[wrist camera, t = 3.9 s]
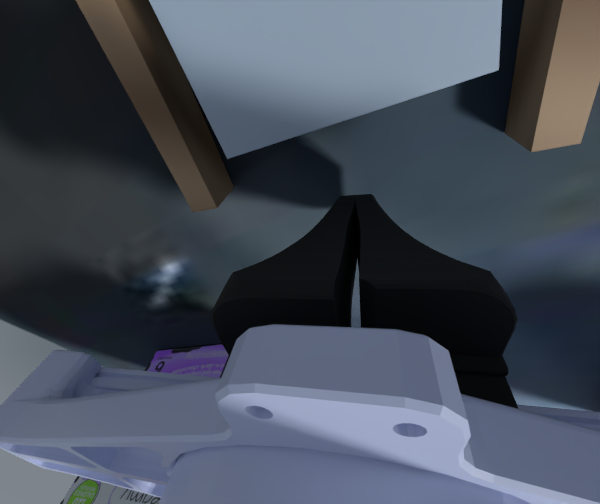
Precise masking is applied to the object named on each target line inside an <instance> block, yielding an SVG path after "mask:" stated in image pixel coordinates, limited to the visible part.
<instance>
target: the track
mask: <svg viewBox="0 0 600 504" xmlns="http://www.w3.org/2000/svg"><path fill="white" fill-rule="evenodd" d="M76 2H77V4H78V6H79V7H80V9H81V11H82V13H83V15H84V16H85V18H86V20H87V22H88V24H89V25H90V27H91V29H92V31H93V33H94V34H95V36H96V38H97V40H98V42H99V43H100V45H101V47H102V49H103V51H104V52H105V54H106V56H107V58H108V60H109V61H110V63H111V65H112V67H113V69H114V71H115V72H116V74H117V76H118V78H119V80H120V81H121V83H122V85H123V87H124V89H125V90H126V92H127V94H128V96H129V98H130V99H131V101H132V103H133V105H134V107H135V108H136V110H137V112H138V114H139V116H140V117H141V119H142V121H143V123H144V125H145V126H146V128H147V130H148V132H149V134H150V136H151V137H152V139H153V141H154V143H155V145H156V146H157V148H158V150H159V152H160V154H161V155H162V157H163V159H164V161H165V163H166V164H167V166H168V168H169V170H170V172H171V173H172V175H173V177H174V179H175V181H176V182H177V184H178V186H179V188H180V190H181V191H182V193H183V195H184V197H185V199H186V200H187V202H188V204H189V206H190V208H191V210H192V211H193V212H197V211H203V210H209V209H214V208H218V206H219V205H220V204H221V203H222V201H223V200H224V199H225V198H226V196H227V195H228V194H229V193H230V192H231V190H232V189H233V188H234V186H233V184H232V182H231V179H230V177H229V175H228V172H227V170H226V168H225V165H224V163H223V161H222V159H221V156H220V154H219V152H218V149H217V147H216V145H215V142H214V140H213V138H212V135H211V133H210V131H209V128H208V126H207V124H206V122H205V119H204V117H203V115H202V112H201V110H200V108H199V105H198V103H197V101H196V98H195V96H194V94H193V92H192V89H191V87H190V85H189V82H188V80H187V78H186V75H185V73H184V71H183V68H182V66H181V64H180V62H179V60H178V58H177V56H176V54H175V52H174V50H173V48H172V46H171V44H170V42H169V40H168V38H167V36H166V34H165V32H164V30H163V28H162V26H161V24H160V22H159V20H158V18H157V16H156V14H155V12H154V10H153V8H152V6H151V4H150V1H149V0H76ZM599 82H600V0H525V1H524V8H523V15H522V21H521V28H520V35H519V41H518V48H517V55H516V61H515V68H514V75H513V81H512V88H511V95H510V102H509V108H508V115H507V122H506V128H505V134H506V135H508V136H509V137H511V138H512V139H513V140H515V141H516V142H518V143H519V144H521V145H522V146H523V147H525V148H526V149H528V150H529V151H530V152H534V151H540V150H546V149H551V148H557V147H562V146H568V145H574V144H579V143H581V140H582V137H583V134H584V131H585V127H586V124H587V121H588V117H589V114H590V111H591V108H592V104H593V101H594V98H595V95H596V91H597V88H598V85H599Z"/></svg>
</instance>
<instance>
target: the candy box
mask: <svg viewBox="0 0 600 504" xmlns="http://www.w3.org/2000/svg"><path fill="white" fill-rule="evenodd" d="M228 356H229V355H228V353H227V352H226V350H225V348H224V346H223V344H220V345H211V346H201V347H191V348H182V349H169V350H161V351H157V352H156V353H155V355H154V356H153V358H152V360H151V361H150V363H149V364H148V366H147V367H146V369H145V371H151V372H162V373H173V374H184V375H195V376H206V377H217V378H220V376H221V373H222V371H223V368H224V366H225V363H226V361H227V358H228ZM160 499H161V498H160V497H156V496H152V495H149V494H145V493H141V492H137V491H134V490H130V489H126V488H123V487H119V486H115V485H111V484H108V483H104V482H100V481H96V480H92V479H88V478H84V477H80V476H78V477H77V478H76V480H75V481H74V483H73V484H72V486H71V488H70V489H69V491H68V492H67V494H66V496H65V497H64V499H63V501H62V502H61V503H60V504H159V501H160Z"/></svg>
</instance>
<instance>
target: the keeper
mask: <svg viewBox="0 0 600 504" xmlns="http://www.w3.org/2000/svg"><path fill="white" fill-rule="evenodd" d="M149 1H150V4H151V6H152V8H153V10H154V12H155V14H156V16H157V18H158V20H159V22H160V24H161V26H162V28H163V30H164V32H165V34H166V36H167V38H168V40H169V42H170V44H171V46H172V48H173V50H174V52H175V54H176V56H177V58H178V60H179V62H180V64H181V66H182V68H183V70H184V72H185V74H186V76H187V78H188V80H189V82H190V84H191V86H192V88H193V90H194V93H195V95H196V97H197V99H198V101H199V103H200V105H201V107H202V109H203V111H204V113H205V115H206V117H207V119H208V121H209V123H210V125H211V127H212V129H213V131H214V133H215V135H216V137H217V139H218V141H219V143H220V145H221V147H222V149H223V151H224V153H225V155H226V157H227V159H229V158H232V157H235V156H238V155H241V154H244V153H247V152H250V151H253V150H256V149H259V148H262V147H266V146H269V145H272V144H275V143H278V142H281V141H284V140H287V139H290V138H293V137H296V136H299V135H302V134H305V133H308V132H311V131H314V130H317V129H321V128H324V127H327V126H330V125H333V124H336V123H339V122H342V121H345V120H348V119H351V118H354V117H357V116H360V115H363V114H366V113H369V112H372V111H375V110H379V109H382V108H385V107H388V106H391V105H394V104H397V103H400V102H403V101H406V100H409V99H412V98H415V97H418V96H421V95H424V94H427V93H430V92H434V91H437V90H440V89H443V88H446V87H449V86H452V85H455V84H458V83H461V82H464V81H467V80H470V79H473V78H476V77H479V76H482V75H485V74H488V73H492V72H495V71H498V70H499V57H500V37H501V17H502V0H149Z"/></svg>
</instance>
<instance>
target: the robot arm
mask: <svg viewBox="0 0 600 504" xmlns="http://www.w3.org/2000/svg"><path fill="white" fill-rule="evenodd" d="M357 258H358V266H359V286H360V313H361V328H356V327H351V306H352V295H353V287H354V280H355V272H356V264H357ZM211 321H212V324H213V327H214V329H215V331H216V333H217V335H218V337H219V339H220V340H221V342H222V344H223V346H224V348H225V350H226V352H227V353H228V355H229V356H228V358H227V361H226V363H225V366H224V368H223V371H222V373H221V376H220V378H217V377H206V376H195V375H184V374H173V373H162V372H151V371H140V370H129V369H118V368H107V367H101V365H100V363H99V362H98V361H97V360H96V359H95V358H93V357H92V356H91V355H89V354H87V353H84V352H78V351H65V350H54V351H52V352H51V354H50V355H48V357H47V358H46V359H45V360H44V361H43V362H42V363H41V364H40V365H39V366H38V367H37V368H36V369H35V370H34V371H33V372H32V373H31V374H30V375H29V376H28V377H27V379H25V381H24V382H23V383H22V384H21V385H20V386H19V387H18V388H17V389H16V390H15V391H14V392H13V393H12V394H11V395H10V396H9V397H8V398H7V399H6V400H5V401H4V402H3V404H1V405H0V449H3V450H5V451H7V452H9V453H11V454H13V455H16V456H17V457H20V458H22V459H24V460H26V461H28V462H31V463H32V464H35V465H37V466H39V467H41V468H44V469H49V470H54V471H58V472H63V473H68V474H72V475H76V476H80V477H84V478H88V479H92V480H96V481H100V482H104V483H108V484H111V485H115V486H119V487H123V488H126V489H130V490H134V491H137V492H141V493H145V494H149V495H152V496H156V497H160V498H161V499H160V501H159V504H600V412H591V411H580V410H569V409H558V408H547V407H536V406H525V405H517V404H516V401H515V399H514V397H513V394H512V392H511V390H510V387H509V385H508V382H507V380H506V378H505V376H507V374H508V367H507V365H506V363H505V361H504V358H503V356H502V355H503V352H504V350H505V348H506V346H507V344H508V342H509V340H510V338H511V336H512V334H513V332H514V330H515V326H516V322H517V316H516V312H515V309H514V307H513V305H512V303H511V301H510V300H509V298H508V296H507V294H506V293H505V291H504V290H503V288H502V287H501V285H500V284H499V283H498V281H497V280H496V279H495V277H494V276H493V275H492V273H491V272H490V271H488V270H485V269H482V268H479V267H476V266H473V265H470V264H466V263H463V262H460V261H458V260H455V259H453V258H451V257H448V256H446V255H444V254H441V253H439V252H437V251H435V250H433V249H431V248H430V247H428V246H426V245H424V244H423V243H421V242H419V241H418V240H416V239H414V238H413V237H411V236H410V235H409V234H407V233H406V232H405V231H403V230H402V229H401V228H400V227H399V226H398V225H397V224H396V223H395V222H394V221H393V220H392V219H391V218H390V217H389V216H388V215H387V214H386V213H385V212H384V210H383V209H382V208H381V206H380V205H379V204H378V202H377V201H376V199H375V197H374V196H373V195H372V194H365V195H349V196H340V197H339V198H338V199H337V201H336V202H335V204H334V205H333V206H332V208H331V209H330V210H329V211H328V213H327V214H326V215H325V216H324V217H323V219H322V220H321V221H320V222H319V223H318V224H317V225H316V226H315V227H314V228H313V229H312V230H311V231H310V232H309V233H307V234H306V235H305V236H304V237H302V238H301V239H300V240H298V241H297V242H296V243H294V244H293V245H291V246H289V247H288V248H286V249H285V250H283V251H281V252H280V253H278V254H276V255H274V256H272V257H270V258H268V259H266V260H264V261H262V262H259V263H257V264H255V265H252V266H249V267H247V268H244V269H241V270H239V271H236V272H233V273H232V275H231V276H230V278H229V280H228V281H227V283H226V285H225V287H224V289H223V291H222V293H221V295H220V296H219V298H218V300H217V302H216V304H215V306H214V308H213V310H212V312H211Z"/></svg>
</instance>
